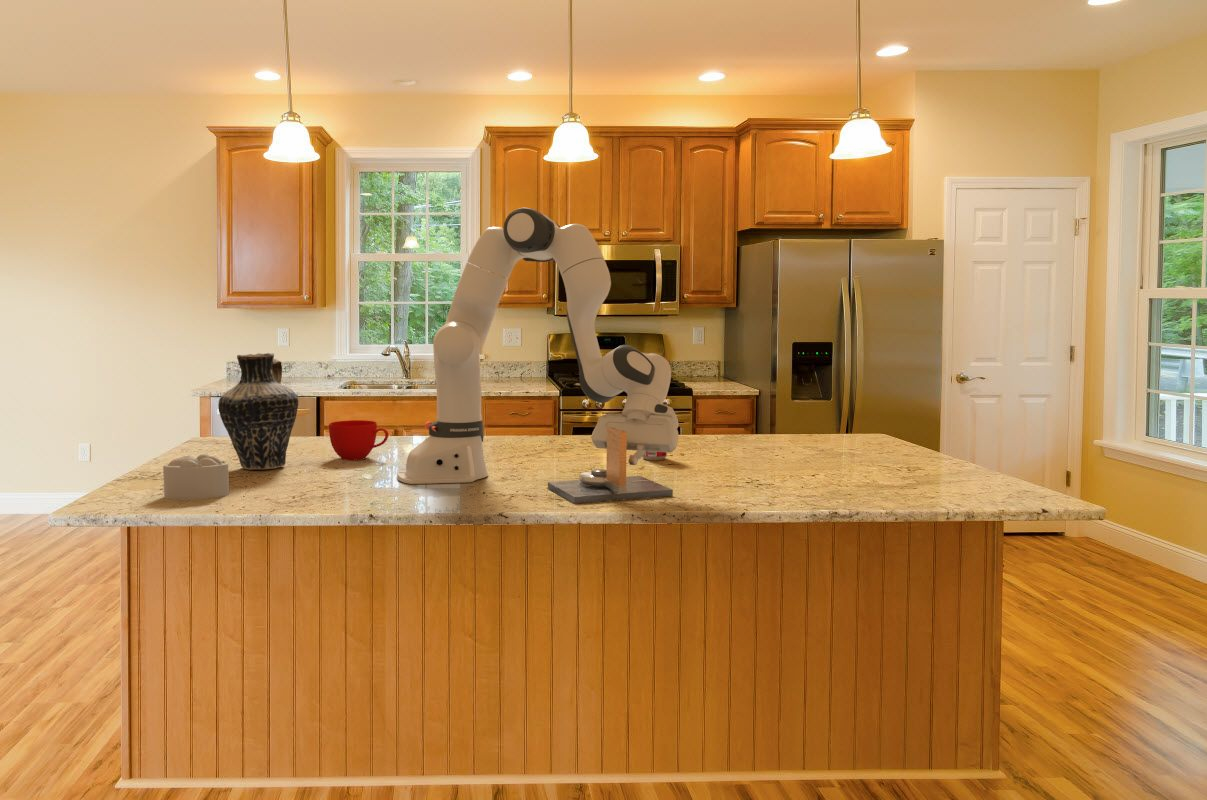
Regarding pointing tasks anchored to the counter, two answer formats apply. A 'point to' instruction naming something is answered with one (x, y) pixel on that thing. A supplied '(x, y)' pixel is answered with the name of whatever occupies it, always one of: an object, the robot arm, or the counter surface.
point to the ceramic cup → (354, 438)
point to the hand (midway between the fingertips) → (626, 463)
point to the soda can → (654, 455)
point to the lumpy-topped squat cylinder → (196, 478)
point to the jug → (259, 413)
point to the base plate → (609, 490)
